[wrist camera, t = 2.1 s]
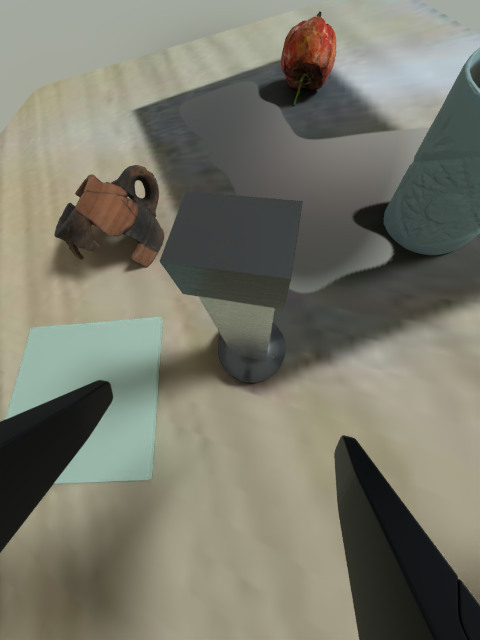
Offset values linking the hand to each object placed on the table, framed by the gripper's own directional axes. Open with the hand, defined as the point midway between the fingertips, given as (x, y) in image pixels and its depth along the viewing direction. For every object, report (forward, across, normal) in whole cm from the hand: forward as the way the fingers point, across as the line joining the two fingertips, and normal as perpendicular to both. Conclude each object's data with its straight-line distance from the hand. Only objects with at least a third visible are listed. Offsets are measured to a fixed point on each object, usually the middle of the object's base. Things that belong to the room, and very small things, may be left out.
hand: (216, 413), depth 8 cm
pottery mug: (+20, +17, -3) cm, 27 cm away
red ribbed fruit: (+42, 0, -24) cm, 48 cm away
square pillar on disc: (+12, 0, +5) cm, 13 cm away
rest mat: (+7, +15, +10) cm, 19 cm away
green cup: (+25, -16, -7) cm, 30 cm away
